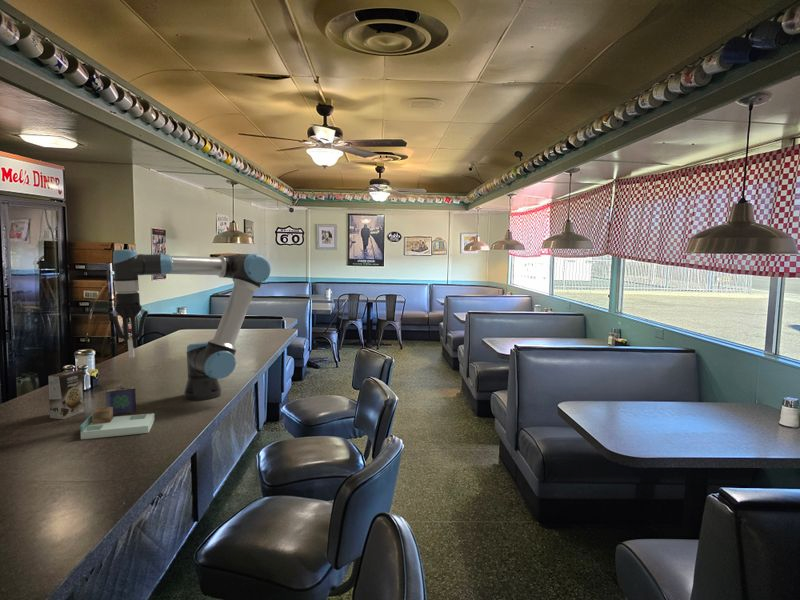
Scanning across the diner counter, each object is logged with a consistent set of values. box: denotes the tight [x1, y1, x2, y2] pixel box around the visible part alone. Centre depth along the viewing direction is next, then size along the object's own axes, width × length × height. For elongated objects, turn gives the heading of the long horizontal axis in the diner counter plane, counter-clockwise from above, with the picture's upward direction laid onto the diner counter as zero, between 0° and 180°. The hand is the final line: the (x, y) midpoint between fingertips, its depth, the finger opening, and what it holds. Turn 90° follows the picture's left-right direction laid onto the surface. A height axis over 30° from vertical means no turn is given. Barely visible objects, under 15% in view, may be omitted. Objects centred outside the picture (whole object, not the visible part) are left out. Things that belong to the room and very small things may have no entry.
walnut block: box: [92, 406, 114, 424], centre depth 173 cm, size 5×5×4 cm
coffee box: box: [48, 370, 84, 420], centre depth 186 cm, size 9×6×16 cm
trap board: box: [79, 412, 156, 440], centre depth 172 cm, size 20×14×4 cm
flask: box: [105, 383, 137, 417], centre depth 189 cm, size 10×3×12 cm, turn 121°
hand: (131, 356), depth 181 cm, fingers closed
